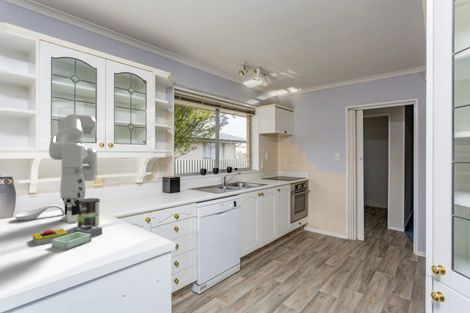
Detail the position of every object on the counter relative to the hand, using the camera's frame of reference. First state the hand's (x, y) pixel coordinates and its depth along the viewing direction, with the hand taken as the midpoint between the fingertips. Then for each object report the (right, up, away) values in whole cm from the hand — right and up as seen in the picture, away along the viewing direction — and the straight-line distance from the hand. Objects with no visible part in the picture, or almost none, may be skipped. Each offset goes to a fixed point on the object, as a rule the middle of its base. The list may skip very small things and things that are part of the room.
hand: (72, 213), depth 104 cm
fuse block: (-1, -13, +12) cm, 18 cm away
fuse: (0, -4, 0) cm, 4 cm away
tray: (0, -13, 0) cm, 13 cm away
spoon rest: (-48, -13, +43) cm, 65 cm away
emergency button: (-14, -14, +6) cm, 20 cm away
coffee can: (-9, -13, +27) cm, 31 cm away
